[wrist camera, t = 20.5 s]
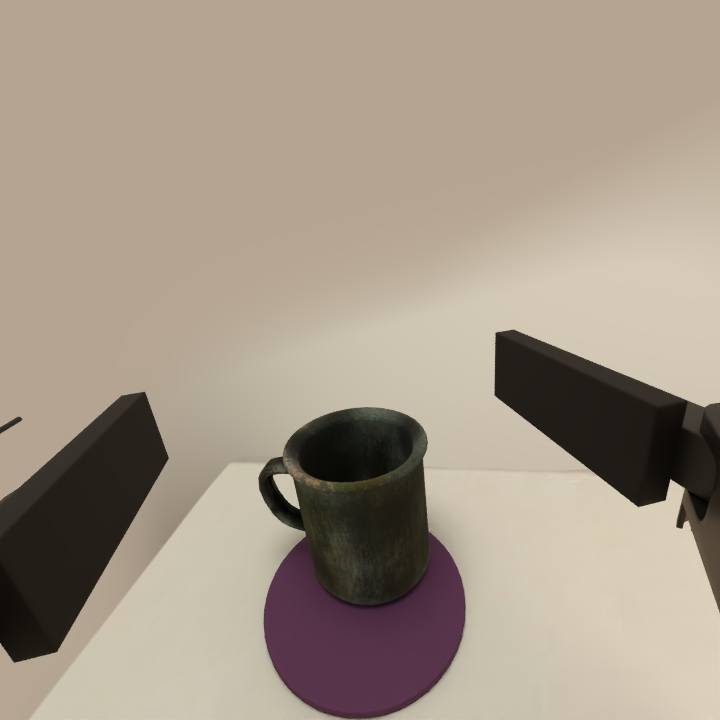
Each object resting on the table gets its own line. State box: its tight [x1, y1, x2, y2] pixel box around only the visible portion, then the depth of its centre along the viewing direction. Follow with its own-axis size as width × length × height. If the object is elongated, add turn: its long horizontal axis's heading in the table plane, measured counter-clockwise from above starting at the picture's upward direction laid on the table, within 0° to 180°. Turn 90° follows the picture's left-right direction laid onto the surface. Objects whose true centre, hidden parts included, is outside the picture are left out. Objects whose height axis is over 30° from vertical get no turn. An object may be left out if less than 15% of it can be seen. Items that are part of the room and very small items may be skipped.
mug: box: [259, 407, 430, 605], centre depth 30 cm, size 11×15×12 cm
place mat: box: [264, 532, 465, 718], centre depth 29 cm, size 16×16×1 cm
